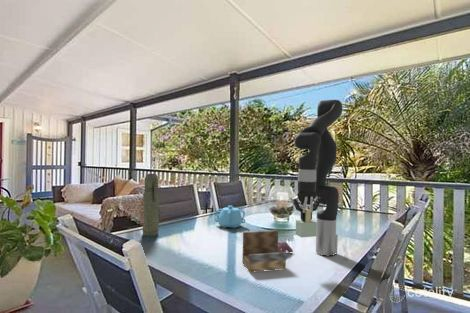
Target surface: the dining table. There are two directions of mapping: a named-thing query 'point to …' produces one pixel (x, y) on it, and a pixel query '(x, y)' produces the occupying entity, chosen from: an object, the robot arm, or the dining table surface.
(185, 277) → the dining table surface
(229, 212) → the decorative pot
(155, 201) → the thermos
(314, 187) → the robot arm
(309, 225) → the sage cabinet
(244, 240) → the wall board ledge
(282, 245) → the video game controller
